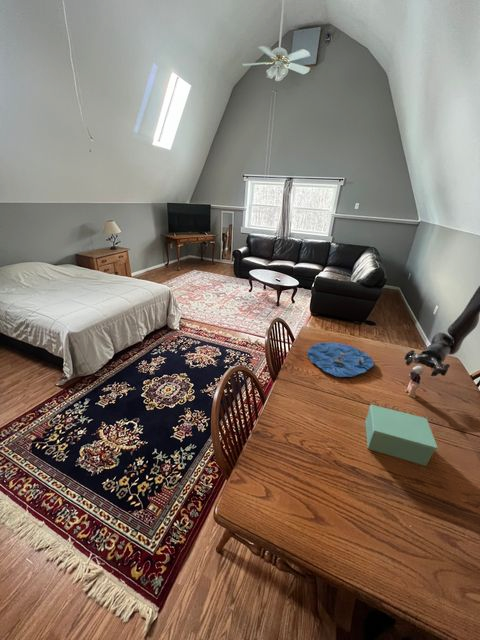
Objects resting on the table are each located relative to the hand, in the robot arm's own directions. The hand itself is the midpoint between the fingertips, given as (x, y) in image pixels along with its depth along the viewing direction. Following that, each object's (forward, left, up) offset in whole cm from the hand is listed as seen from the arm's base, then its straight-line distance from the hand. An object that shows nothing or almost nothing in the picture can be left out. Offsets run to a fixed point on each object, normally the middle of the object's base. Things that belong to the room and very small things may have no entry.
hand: (420, 368), depth 102 cm
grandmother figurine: (+1, +1, -11) cm, 11 cm away
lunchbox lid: (+10, +30, -4) cm, 32 cm away
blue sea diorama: (+28, -12, -11) cm, 32 cm away
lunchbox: (+11, +30, -11) cm, 34 cm away
